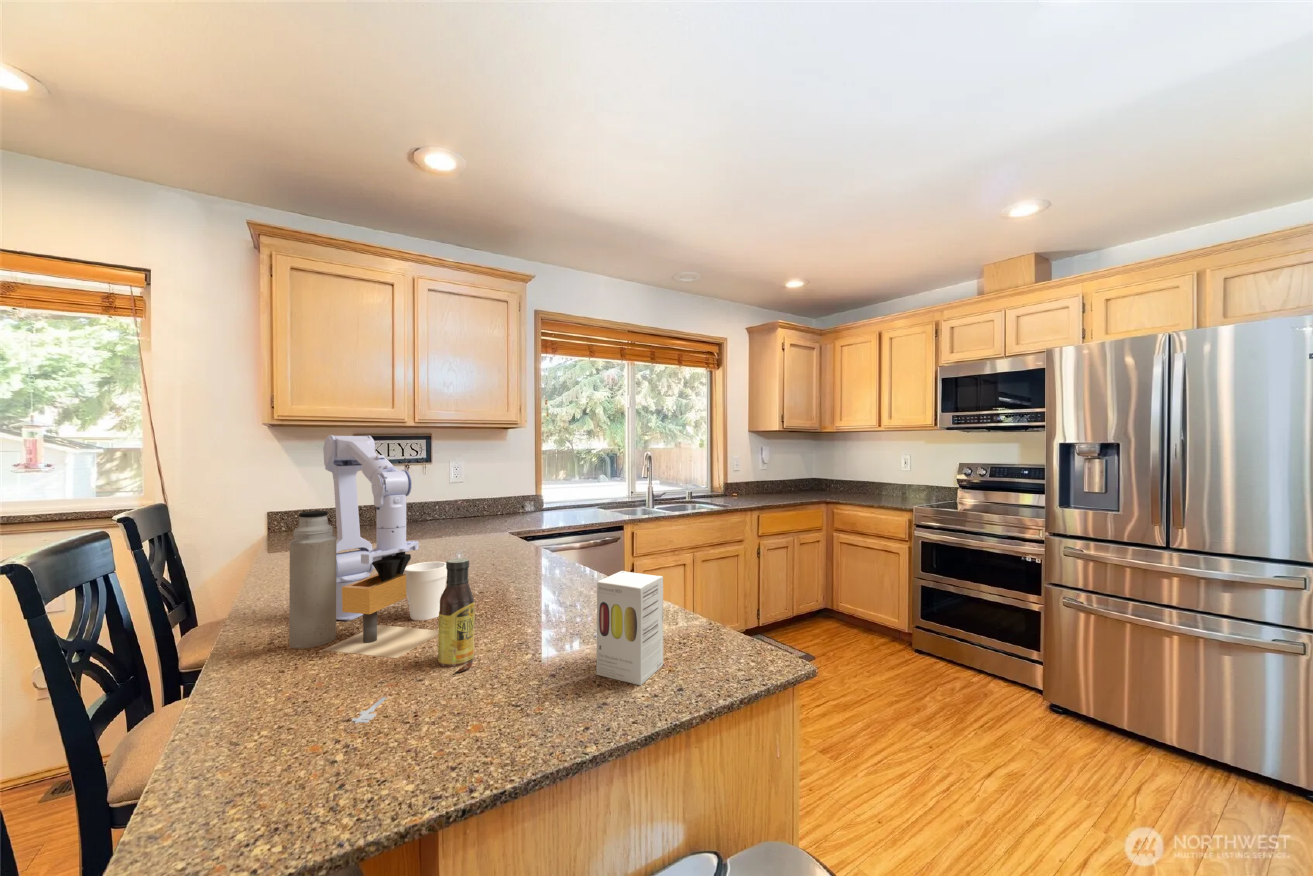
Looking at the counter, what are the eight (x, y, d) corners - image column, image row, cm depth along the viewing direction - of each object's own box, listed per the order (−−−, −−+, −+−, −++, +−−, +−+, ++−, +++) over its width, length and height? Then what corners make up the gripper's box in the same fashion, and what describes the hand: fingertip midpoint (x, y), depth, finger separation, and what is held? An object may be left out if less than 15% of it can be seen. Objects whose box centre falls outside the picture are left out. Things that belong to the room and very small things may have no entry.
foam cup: (456, 619, 120) (455, 564, 120) (419, 631, 112) (419, 573, 112) (431, 612, 125) (431, 560, 125) (395, 624, 117) (395, 567, 117)
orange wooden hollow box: (381, 595, 109) (380, 572, 109) (406, 597, 108) (405, 574, 108) (342, 612, 100) (341, 587, 100) (369, 614, 98) (369, 589, 98)
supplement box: (594, 675, 90) (594, 581, 90) (620, 656, 98) (620, 569, 98) (642, 686, 86) (641, 587, 86) (664, 665, 94) (664, 574, 94)
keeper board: (322, 657, 98) (322, 619, 98) (377, 631, 112) (377, 598, 112) (396, 666, 94) (396, 625, 94) (444, 638, 108) (444, 603, 108)
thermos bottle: (310, 639, 107) (310, 508, 108) (345, 640, 107) (345, 509, 107) (279, 655, 100) (279, 513, 100) (316, 656, 99) (316, 514, 99)
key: (410, 687, 87) (392, 686, 87) (410, 681, 87) (392, 680, 87) (366, 726, 75) (345, 726, 75) (366, 719, 75) (345, 719, 75)
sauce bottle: (461, 676, 90) (461, 565, 90) (430, 673, 91) (430, 563, 91) (481, 661, 96) (481, 557, 96) (452, 658, 97) (452, 556, 98)
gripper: (381, 533, 100) (381, 601, 100) (430, 522, 115) (430, 581, 114) (352, 532, 102) (352, 599, 102) (403, 521, 116) (403, 580, 116)
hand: (391, 589), depth 108 cm, fingers closed on orange wooden hollow box
